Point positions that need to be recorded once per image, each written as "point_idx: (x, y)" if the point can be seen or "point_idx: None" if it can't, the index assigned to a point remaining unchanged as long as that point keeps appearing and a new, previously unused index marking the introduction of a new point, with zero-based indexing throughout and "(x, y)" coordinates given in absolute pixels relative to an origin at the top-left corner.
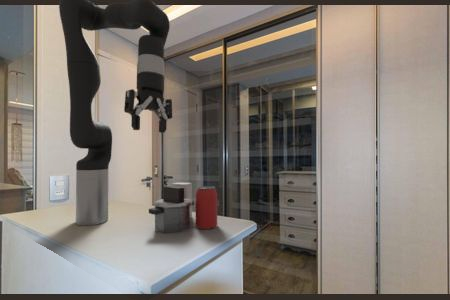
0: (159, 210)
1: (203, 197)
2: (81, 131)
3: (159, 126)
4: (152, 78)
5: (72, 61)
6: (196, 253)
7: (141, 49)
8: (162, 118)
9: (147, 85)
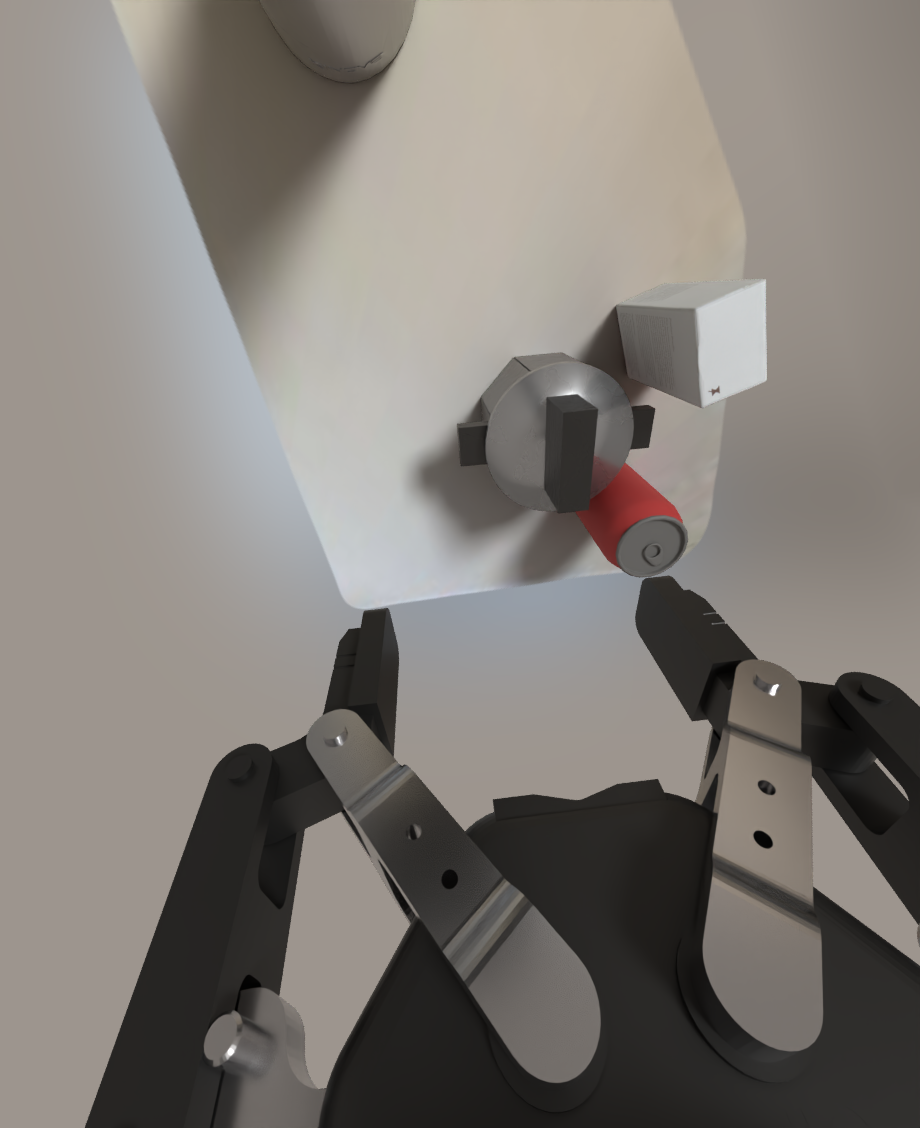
0: (477, 463)
1: (602, 551)
2: None
3: (671, 618)
4: None
5: None
6: (456, 587)
7: None
8: (717, 717)
9: None
